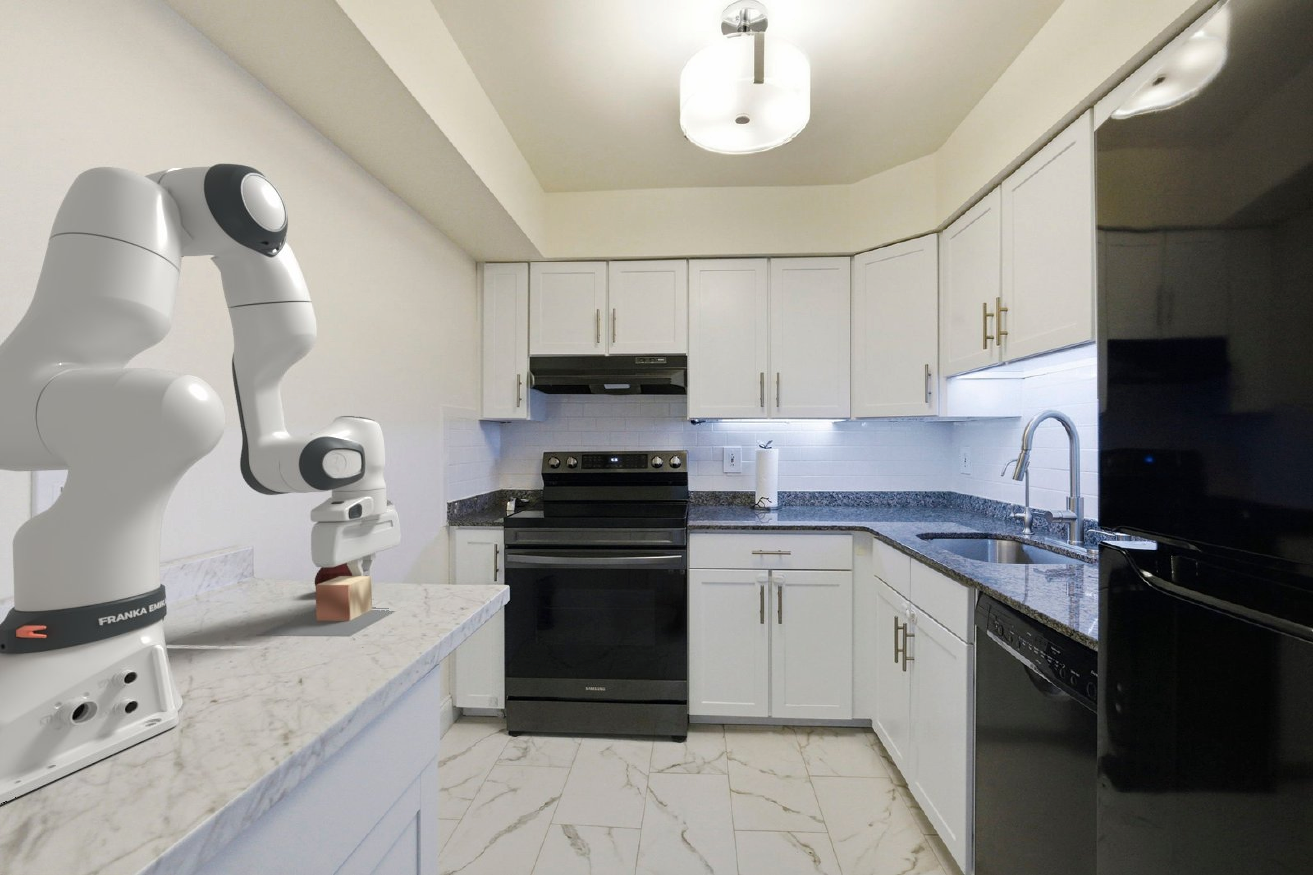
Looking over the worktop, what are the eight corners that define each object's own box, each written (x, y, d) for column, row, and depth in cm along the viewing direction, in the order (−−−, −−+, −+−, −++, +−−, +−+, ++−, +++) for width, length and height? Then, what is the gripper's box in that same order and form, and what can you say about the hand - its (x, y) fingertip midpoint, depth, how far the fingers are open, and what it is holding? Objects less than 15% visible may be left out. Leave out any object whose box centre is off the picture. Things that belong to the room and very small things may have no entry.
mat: (349, 639, 84) (349, 636, 84) (255, 638, 86) (255, 635, 86) (417, 602, 103) (417, 599, 103) (338, 602, 105) (338, 599, 105)
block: (372, 609, 97) (349, 620, 91) (341, 609, 98) (316, 620, 92) (371, 576, 97) (348, 585, 91) (340, 576, 98) (315, 585, 92)
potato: (361, 595, 109) (360, 560, 109) (315, 602, 105) (314, 566, 105) (357, 587, 115) (356, 554, 115) (314, 594, 111) (313, 559, 111)
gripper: (378, 499, 110) (380, 567, 110) (302, 513, 90) (304, 596, 90) (408, 498, 109) (410, 567, 109) (337, 512, 89) (340, 596, 89)
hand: (362, 580), depth 99 cm, fingers closed
